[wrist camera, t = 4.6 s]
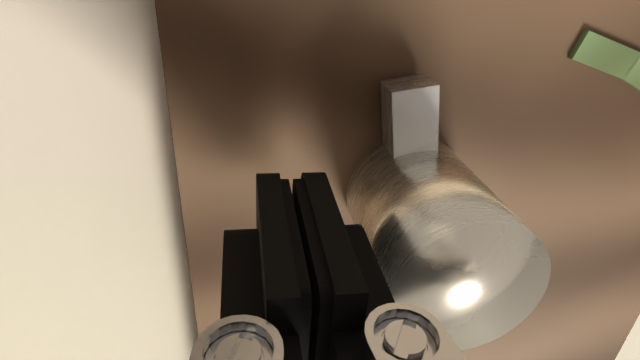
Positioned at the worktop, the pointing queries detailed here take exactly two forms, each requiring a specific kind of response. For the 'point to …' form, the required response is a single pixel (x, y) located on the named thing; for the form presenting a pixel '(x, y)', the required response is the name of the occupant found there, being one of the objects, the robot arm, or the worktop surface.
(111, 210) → the worktop surface
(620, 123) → the dial board
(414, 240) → the lever
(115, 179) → the worktop surface
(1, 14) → the worktop surface
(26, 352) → the worktop surface
